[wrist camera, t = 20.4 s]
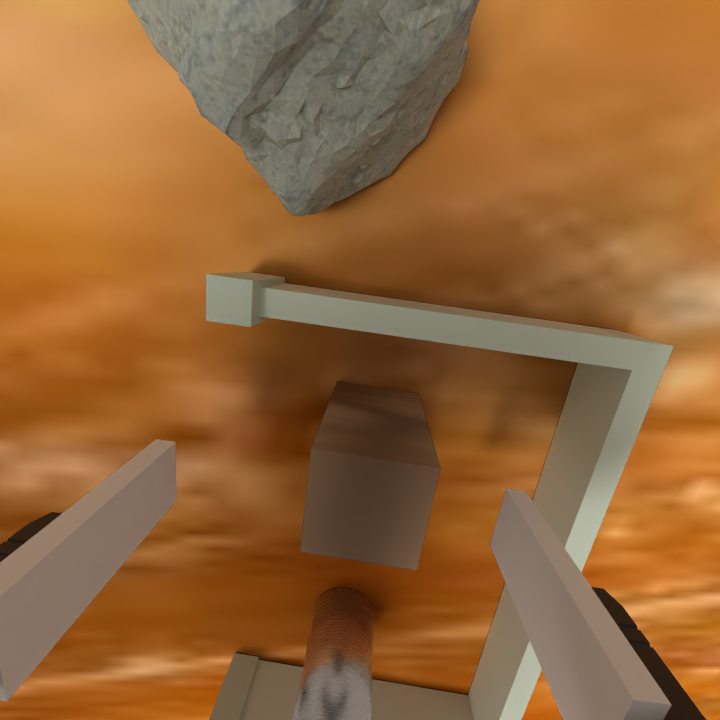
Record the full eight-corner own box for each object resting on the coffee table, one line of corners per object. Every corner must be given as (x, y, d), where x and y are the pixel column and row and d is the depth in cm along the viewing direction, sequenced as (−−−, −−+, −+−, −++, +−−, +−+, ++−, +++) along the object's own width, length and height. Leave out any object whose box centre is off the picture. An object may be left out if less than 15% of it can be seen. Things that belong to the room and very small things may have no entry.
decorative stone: (448, 247, 16) (669, -66, 7) (205, 273, 13) (-1, -211, 4) (376, 59, 19) (456, -322, 10) (171, 47, 17) (20, -497, 7)
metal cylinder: (312, 627, 23) (284, 774, 17) (317, 583, 22) (289, 721, 15) (369, 636, 23) (364, 787, 16) (377, 592, 22) (375, 735, 15)
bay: (234, 669, 25) (203, 752, 21) (250, 271, 17) (206, 274, 13) (479, 711, 24) (500, 805, 20) (616, 323, 16) (697, 343, 12)
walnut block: (328, 453, 19) (300, 551, 13) (336, 381, 18) (310, 448, 12) (404, 464, 19) (416, 570, 13) (418, 393, 18) (440, 468, 11)
